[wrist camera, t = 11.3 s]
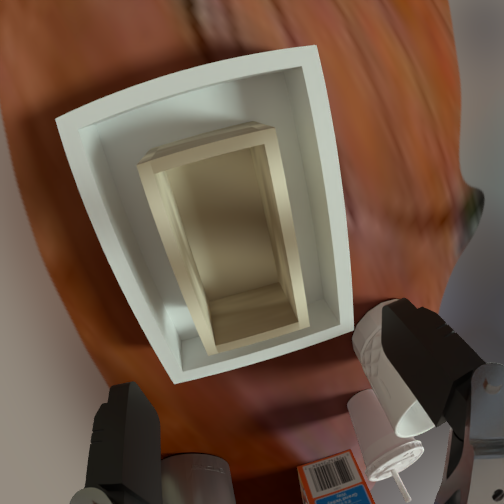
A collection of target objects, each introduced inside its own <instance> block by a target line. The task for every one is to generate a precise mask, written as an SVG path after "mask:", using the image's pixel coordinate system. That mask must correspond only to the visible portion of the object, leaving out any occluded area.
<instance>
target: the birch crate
mask: <svg viewBox="0 0 504 504" xmlns="http://www.w3.org/2000/svg"><path fill="white" fill-rule="evenodd" d="M136 166H137V169H138V172H139V175H140V179H141V182H142V185H143V188H144V191H145V194H146V197H147V200H148V203H149V206H150V209H151V212H152V215H153V217H154V220H155V223H156V226H157V229H158V232H159V234H160V237H161V240H162V243H163V245H164V248H165V251H166V253H167V256H168V259H169V261H170V264H171V267H172V269H173V272H174V275H175V277H176V280H177V282H178V285H179V287H180V290H181V292H182V295H183V297H184V300H185V302H186V305H187V307H188V310H189V312H190V315H191V317H192V319H193V322H194V324H195V327H196V329H197V331H198V334H199V336H200V338H201V341H202V343H203V345H204V347H205V350H206V352H207V354H208V356H210V355H214V354H218V353H221V352H225V351H229V350H233V349H236V348H240V347H243V346H247V345H251V344H254V343H258V342H261V341H264V340H268V339H271V338H275V337H278V336H281V335H284V334H288V333H291V332H294V331H297V330H300V329H304V328H307V327H310V324H309V317H308V310H307V303H306V296H305V290H304V283H303V277H302V271H301V265H300V258H299V252H298V246H297V240H296V235H295V229H294V223H293V217H292V212H291V206H290V201H289V195H288V190H287V185H286V179H285V174H284V169H283V164H282V159H281V154H280V149H279V144H278V139H277V134H276V129H275V127H272V126H269V125H265V124H262V123H258V122H255V121H251V122H246V123H242V124H238V125H233V126H229V127H225V128H221V129H217V130H214V131H210V132H206V133H202V134H199V135H195V136H191V137H188V138H184V139H181V140H178V141H174V142H171V143H168V144H164V145H161V146H158V147H155V148H152V149H150V150H149V151H148V152H147V153H146V154H145V155H144V157H143V158H142V159H141V160H140V161H139V163H138V164H137V165H136Z"/></svg>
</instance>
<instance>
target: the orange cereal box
mask: <svg viewBox="0 0 504 504" xmlns="http://www.w3.org/2000/svg"><path fill="white" fill-rule="evenodd" d="M297 470H298V476H299V482H300V488H301V494H302V500H303V504H375V502H374V500H373V498H372V495H371V493H370V491H369V489H368V487H367V484H366V482H365V480H364V478H363V475H362V473H361V471H360V469H359V467H358V464H357V462H356V460H355V458H354V456H353V453H352V451H351V449H349V450H347V451H344V452H341V453H338V454H335V455H332V456H329V457H326V458H323V459H320V460H317V461H314V462H311V463H307V464H304V465H300V466H297Z"/></svg>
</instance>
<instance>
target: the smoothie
mask: <svg viewBox="0 0 504 504" xmlns="http://www.w3.org/2000/svg"><path fill="white" fill-rule="evenodd" d="M347 408H348V411H349V414H350V417H351V420H352V423H353V427H354V430H355V433H356V436H357V439H358V442H359V446H360V449H361V452H362V455H363V459H364V462H365V465H366V470H365V474H366V476H367V478H368V480H369V481H379V480H383V479H385V478H388V477H391V476H393V477H394V479H395V481H396V483H397V485H398V487H399V489H400V491H401V493H402V495H403V497H404V499H405V501H406V503H407V502H409V501H411V498H410V496H409V494H408V492H407V490H406V488H405V486H404V484H403V483H402V480H401V479H400V477H399V475H398V473H399V472H401V471H402V470H404V469H405V468H407V467H409V466H410V465H411V464H413V463H414V462H415V461H416V460H417V459H418V458H419V457H420V456H421V455H422V453H423V451H424V448H423V446H422V445H421V442H420V441H419V440H418V441H417V440H415V439H414V438H413V437H408V438H400V437H398V436H396V435H395V433H394V431H393V429H392V427H391V424H390V422H389V420H388V418H387V416H386V414H385V412H384V410H383V408H382V407H381V405H380V403H379V401H378V399H377V397H376V395H375V393H374V391H373V389H367V390H363V391H361V392H359V393H357V394H356V395H354V396H353V397H352V398H351V399H350V400H349V401H348V403H347Z"/></svg>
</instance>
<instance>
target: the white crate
mask: <svg viewBox="0 0 504 504" xmlns="http://www.w3.org/2000/svg"><path fill="white" fill-rule="evenodd" d="M55 120H56V124H57V127H58V131H59V134H60V137H61V140H62V143H63V147H64V150H65V153H66V156H67V159H68V162H69V165H70V168H71V170H72V173H73V176H74V179H75V182H76V184H77V187H78V190H79V192H80V195H81V198H82V200H83V203H84V205H85V208H86V211H87V213H88V215H89V218H90V220H91V223H92V225H93V228H94V230H95V232H96V235H97V237H98V239H99V242H100V244H101V246H102V249H103V251H104V253H105V255H106V257H107V260H108V262H109V264H110V266H111V268H112V270H113V273H114V275H115V277H116V279H117V281H118V283H119V285H120V287H121V289H122V291H123V293H124V295H125V297H126V299H127V301H128V303H129V305H130V307H131V309H132V311H133V313H134V315H135V317H136V318H137V320H138V322H139V324H140V326H141V328H142V330H143V331H144V333H145V335H146V337H147V339H148V340H149V342H150V344H151V346H152V348H153V349H154V351H155V353H156V354H157V356H158V358H159V360H160V361H161V363H162V365H163V366H164V368H165V370H166V371H167V373H168V375H169V376H170V378H171V380H172V381H173V383H174V384H177V383H181V382H185V381H190V380H194V379H198V378H202V377H206V376H210V375H214V374H218V373H222V372H225V371H229V370H233V369H236V368H240V367H244V366H247V365H251V364H254V363H258V362H261V361H264V360H268V359H271V358H274V357H277V356H281V355H284V354H287V353H290V352H293V351H296V350H299V349H302V348H305V347H308V346H311V345H314V344H317V343H320V342H323V341H326V340H329V339H331V338H334V337H337V336H340V335H343V334H345V333H348V332H351V331H353V330H354V315H353V295H352V279H351V266H350V253H349V242H348V232H347V222H346V213H345V204H344V196H343V188H342V181H341V173H340V166H339V160H338V153H337V147H336V140H335V134H334V128H333V123H332V117H331V112H330V106H329V101H328V96H327V91H326V86H325V81H324V76H323V72H322V67H321V63H320V58H319V54H318V50H317V45H312V46H303V47H295V48H288V49H281V50H274V51H268V52H262V53H256V54H251V55H246V56H241V57H236V58H231V59H226V60H222V61H218V62H213V63H209V64H205V65H201V66H197V67H193V68H190V69H186V70H182V71H179V72H175V73H172V74H169V75H165V76H162V77H159V78H156V79H153V80H150V81H147V82H144V83H141V84H138V85H135V86H132V87H129V88H127V89H124V90H121V91H118V92H116V93H113V94H111V95H108V96H106V97H103V98H101V99H98V100H96V101H93V102H91V103H89V104H86V105H84V106H82V107H79V108H77V109H75V110H73V111H70V112H68V113H66V114H64V115H62V116H60V117H58V118H56V119H55ZM251 121H255V122H258V123H262V124H265V125H269V126H272V127H275V129H276V134H277V139H278V144H279V149H280V154H281V159H282V164H283V169H284V174H285V179H286V185H287V190H288V195H289V201H290V206H291V212H292V217H293V223H294V229H295V235H296V240H297V246H298V252H299V258H300V265H301V271H302V277H303V283H304V290H305V296H306V303H307V310H308V317H309V324H310V327H307V328H304V329H300V330H297V331H294V332H291V333H288V334H284V335H281V336H278V337H275V338H271V339H268V340H264V341H261V342H258V343H254V344H251V345H247V346H243V347H240V348H236V349H233V350H229V351H225V352H221V353H218V354H214V355H210V356H208V354H207V352H206V350H205V347H204V345H203V343H202V341H201V338H200V336H199V334H198V331H197V329H196V327H195V324H194V322H193V319H192V317H191V315H190V312H189V310H188V307H187V305H186V302H185V300H184V297H183V295H182V292H181V290H180V287H179V285H178V282H177V280H176V277H175V275H174V272H173V269H172V267H171V264H170V261H169V259H168V256H167V253H166V251H165V248H164V245H163V243H162V240H161V237H160V234H159V232H158V229H157V226H156V223H155V220H154V217H153V215H152V212H151V209H150V206H149V203H148V200H147V197H146V194H145V191H144V188H143V185H142V182H141V179H140V175H139V172H138V169H137V166H136V165H137V164H138V163H139V161H140V160H141V159H142V158H143V157H144V155H145V154H146V153H147V152H148V151H149V150H150V149H152V148H155V147H158V146H161V145H164V144H168V143H171V142H174V141H178V140H181V139H184V138H188V137H191V136H195V135H199V134H202V133H206V132H210V131H214V130H217V129H221V128H225V127H229V126H233V125H238V124H242V123H246V122H251Z"/></svg>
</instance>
